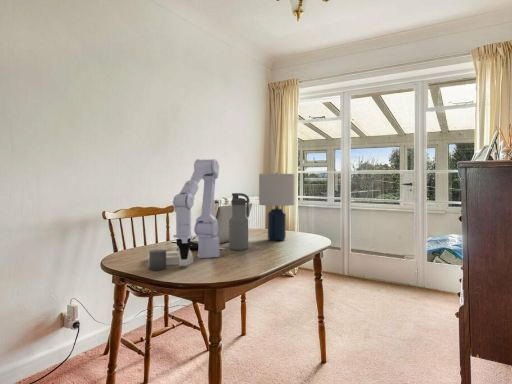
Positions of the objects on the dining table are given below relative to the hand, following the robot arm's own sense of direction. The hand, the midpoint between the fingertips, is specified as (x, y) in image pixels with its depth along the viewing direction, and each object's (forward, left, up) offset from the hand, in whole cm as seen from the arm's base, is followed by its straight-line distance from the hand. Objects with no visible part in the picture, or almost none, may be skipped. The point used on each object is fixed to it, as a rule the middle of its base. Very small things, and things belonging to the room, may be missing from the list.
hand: (183, 257), depth 136 cm
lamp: (-55, -48, -4) cm, 73 cm away
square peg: (0, 0, -3) cm, 2 cm away
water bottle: (-29, -30, -4) cm, 42 cm away
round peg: (+10, 0, -4) cm, 11 cm away
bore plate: (+5, -11, -4) cm, 13 cm away
